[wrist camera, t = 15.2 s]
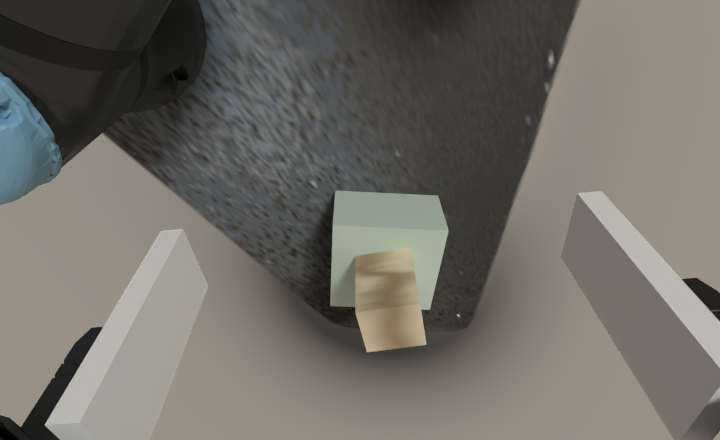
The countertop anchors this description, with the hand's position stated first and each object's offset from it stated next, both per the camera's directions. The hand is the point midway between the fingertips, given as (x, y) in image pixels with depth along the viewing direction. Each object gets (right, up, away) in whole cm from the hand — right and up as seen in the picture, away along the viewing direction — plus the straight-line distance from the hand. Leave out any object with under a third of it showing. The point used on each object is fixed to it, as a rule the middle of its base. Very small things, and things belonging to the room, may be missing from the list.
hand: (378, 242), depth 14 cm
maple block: (+2, -5, +32) cm, 32 cm away
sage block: (+2, -1, +38) cm, 38 cm away
